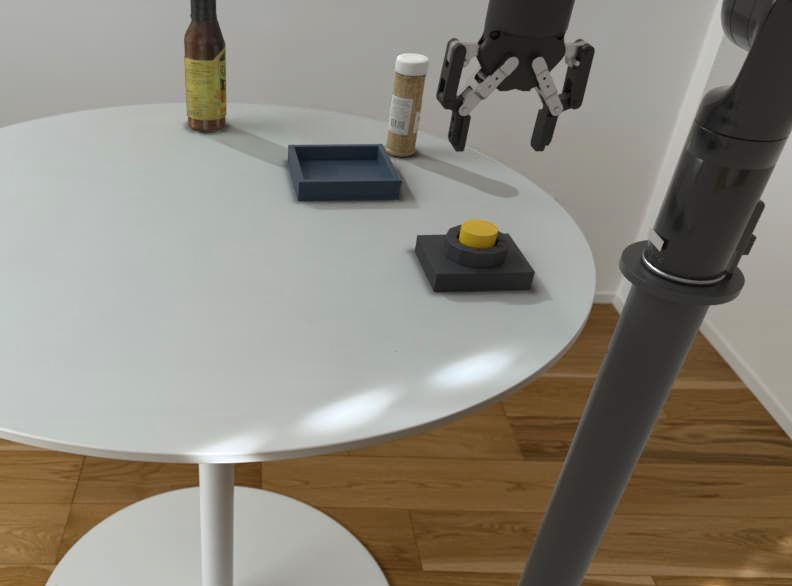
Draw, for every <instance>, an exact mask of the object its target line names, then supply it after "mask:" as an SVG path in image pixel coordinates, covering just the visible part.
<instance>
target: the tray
mask: <svg viewBox="0 0 792 586" xmlns="http://www.w3.org/2000/svg"><path fill="white" fill-rule="evenodd" d="M286 161H287V166H288V169H289V173H290V177H291V181H292V184H293V188H294V191H295V195H296V199H297V201H299V202H300V201H350V200H351V201H352V200H353V201H355V200H357V201H358V200H361V201H363V200H399V199H400V195H401V189H402V182H403V180H402V178H401V177H400V175H399V172H398V171H397V169H396V167H395V165H394V163H393V161H392V159H391V157H390V154H389V153H387V152H386V150H385V146H384V144H383V143H344V144H343V143H340V144H339V143H338V144H336V143H334V144H331V143H330V144H326V143H325V144H288V145H287V160H286Z"/></svg>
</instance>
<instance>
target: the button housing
mask: <svg viewBox="0 0 792 586" xmlns="http://www.w3.org/2000/svg"><path fill="white" fill-rule="evenodd" d="M461 226H462V224H458V225H455V226H452V227H450V228H449V229H448V230H447V231H446V232H445V233H446V234H417V236H416V242H415V247H414V254H415V256H416V258H417V259H418V262H419V264H420V266H421V268H422V271H423V273H424V275H425V277H426V279H427V281H428V283H429V285H430V287H431V289H432V291H433V292H465V291H504V290H509V291H510V290H531V288H532V285H533V280H534V278H535V274H536V271H535V270H534V268H533V267H532V265H531V264H530V262H529V261H528V259H527V258H526V256H525V255H524V254H523V252H522V251H521V249H520V248H519V246H518V244H516V242H515V240H514V239H513V237H512V236H511V234H510V233H509V232H506V233H505V232H504V233H503V232H501V231H499V230H498V234H497V238H496V242H495V245H494V247H491V248H485V249H478V248H473V247H469V246H466V245H464V244H462V243H461V242H459V235H460V230H461Z"/></svg>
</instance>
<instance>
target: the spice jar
mask: <svg viewBox="0 0 792 586" xmlns="http://www.w3.org/2000/svg"><path fill="white" fill-rule="evenodd" d="M394 65H395V66H394V71H395V72H394V75H395V76H394V83H393V90H392V95H391V103H390V110H389V117H388V126H387V129H388V130H387V136H386V137H387V138H386V143H385V146H384V148H385V150H386V152H387V154H388V155H389V156H390V155H391V156H393V157H400V158H405V157H410V156H412V155H414V154H415V153H416V151H417V150H416V144H417V138H418V133H419V132H418V131H419V128H420V127H419V126H420V121H421V113H422V107H423V97H424V96H423V95H424V89H425V83H426V77H427V74H428V72H429V68H430V67H429V65H430V58H429V57H428V56H426V55H423V54H421V53H420V54H419V53H412V52H411V53H409V52H408V53H402V54H399V55H398V56H396V59H395V64H394Z"/></svg>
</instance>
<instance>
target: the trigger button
mask: <svg viewBox="0 0 792 586" xmlns="http://www.w3.org/2000/svg"><path fill="white" fill-rule="evenodd" d="M461 225H462V226H461V230H460V235H459V242H461V243H462V244H464V245H466V246H469V247H473V248H478V249H485V248H491V247H494V245H495V242H496V238H497V234H498V231H499V227H498V226H497V225H496V224H495V223H493V222H491V221H488V220H484V219H478V218H477V219H476V218H474V219H467V220H464V221H463V222H462V223H461Z"/></svg>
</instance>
